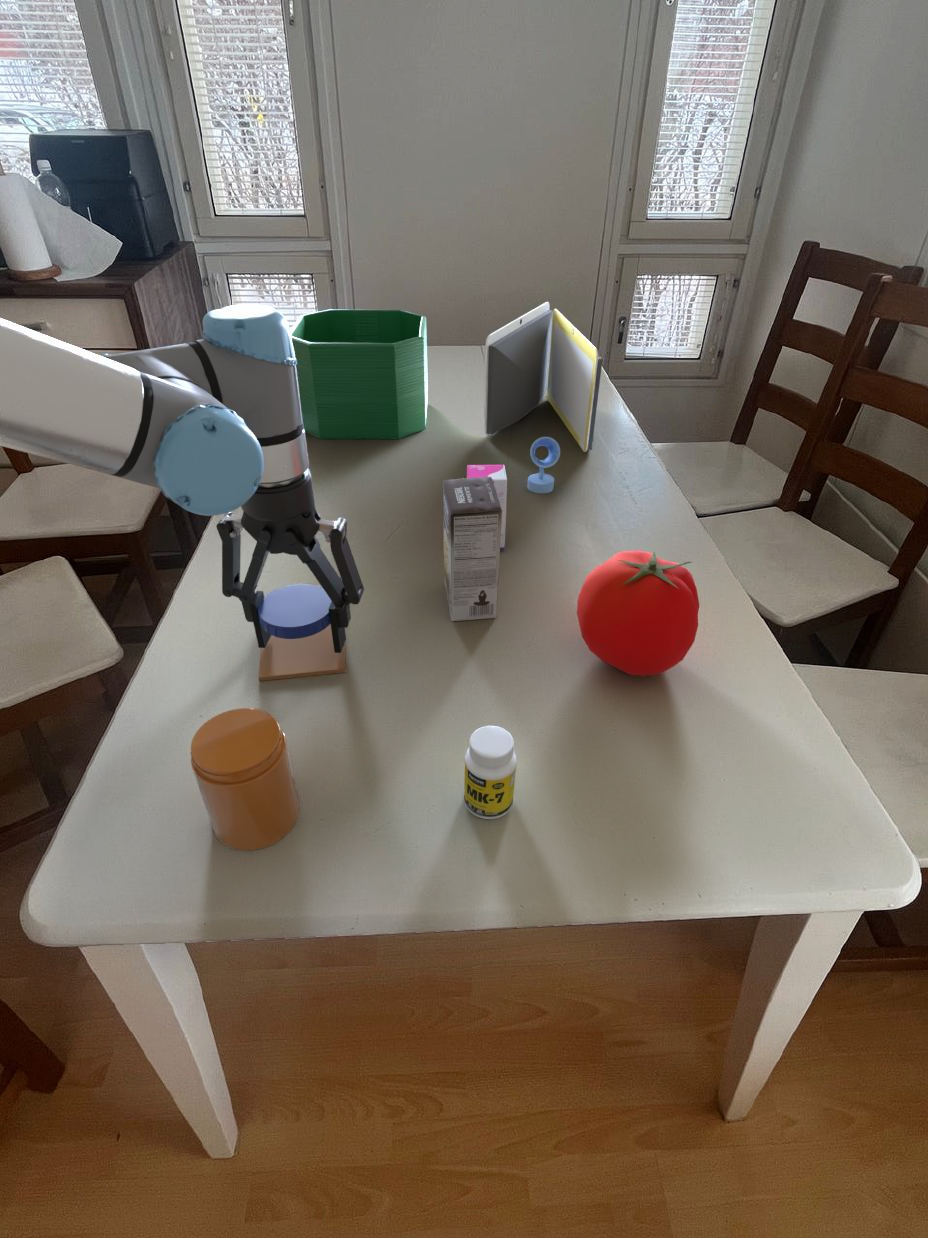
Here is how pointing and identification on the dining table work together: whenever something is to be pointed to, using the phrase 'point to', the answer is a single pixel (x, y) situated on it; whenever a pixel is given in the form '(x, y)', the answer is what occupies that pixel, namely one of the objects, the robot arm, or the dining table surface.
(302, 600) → the lid
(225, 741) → the jar
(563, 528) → the dining table surface
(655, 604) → the tomato
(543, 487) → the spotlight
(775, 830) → the dining table surface
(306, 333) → the planter
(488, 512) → the coffee box
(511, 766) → the supplement bottle
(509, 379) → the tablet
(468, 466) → the supplement box
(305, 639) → the coaster
